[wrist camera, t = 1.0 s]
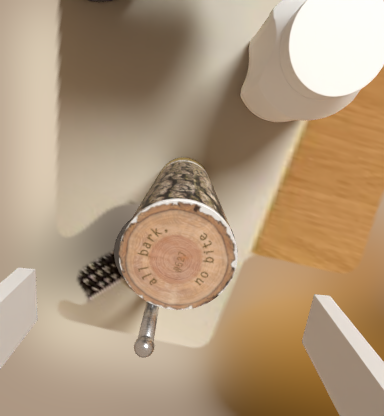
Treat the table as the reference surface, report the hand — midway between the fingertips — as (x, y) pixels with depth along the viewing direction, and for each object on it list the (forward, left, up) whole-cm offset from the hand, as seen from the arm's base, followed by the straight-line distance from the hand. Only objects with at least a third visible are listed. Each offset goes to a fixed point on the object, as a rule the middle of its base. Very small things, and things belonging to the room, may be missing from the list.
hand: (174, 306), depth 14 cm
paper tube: (-1, 0, -28) cm, 28 cm away
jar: (-16, +11, -28) cm, 34 cm away
